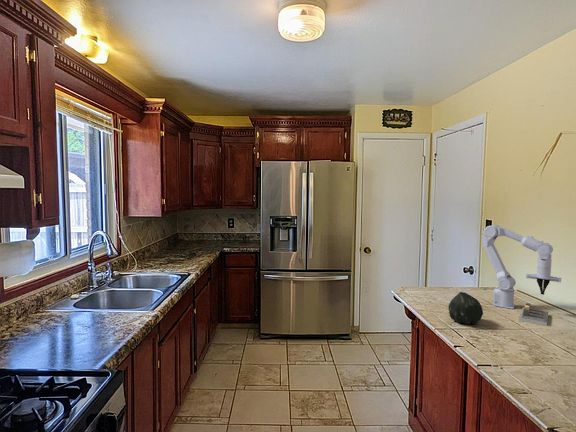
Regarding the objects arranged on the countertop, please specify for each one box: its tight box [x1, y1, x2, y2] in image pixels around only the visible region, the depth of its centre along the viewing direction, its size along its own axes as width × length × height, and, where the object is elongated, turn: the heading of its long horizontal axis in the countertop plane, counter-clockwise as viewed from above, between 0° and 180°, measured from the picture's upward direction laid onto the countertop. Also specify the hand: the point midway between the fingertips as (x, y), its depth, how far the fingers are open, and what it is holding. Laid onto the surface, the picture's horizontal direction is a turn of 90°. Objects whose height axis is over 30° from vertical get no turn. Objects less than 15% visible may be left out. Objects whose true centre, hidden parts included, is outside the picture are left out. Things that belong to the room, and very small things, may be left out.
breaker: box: [523, 307, 529, 316], centre depth 179 cm, size 2×2×3 cm
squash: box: [447, 291, 484, 325], centre depth 175 cm, size 14×15×15 cm
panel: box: [518, 307, 549, 327], centre depth 182 cm, size 11×19×2 cm, turn 143°
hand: (542, 294), depth 188 cm, fingers closed
